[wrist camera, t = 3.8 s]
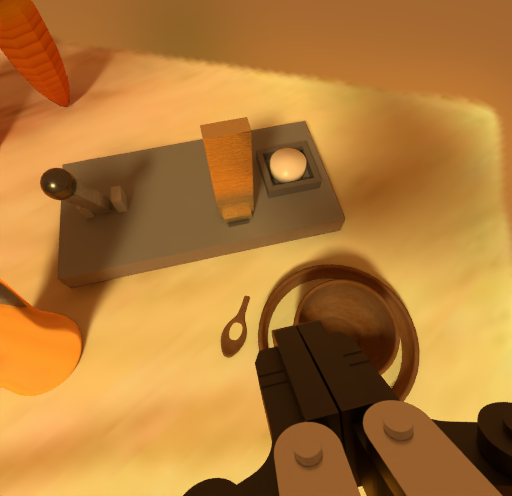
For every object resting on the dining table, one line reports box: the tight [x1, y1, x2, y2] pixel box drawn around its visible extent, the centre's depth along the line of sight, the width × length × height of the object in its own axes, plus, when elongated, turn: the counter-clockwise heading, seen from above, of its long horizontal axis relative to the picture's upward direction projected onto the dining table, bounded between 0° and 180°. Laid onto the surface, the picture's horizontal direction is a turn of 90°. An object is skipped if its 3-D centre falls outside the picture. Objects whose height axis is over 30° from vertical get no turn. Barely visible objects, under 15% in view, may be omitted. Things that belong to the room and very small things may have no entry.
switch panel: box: [58, 121, 345, 288], centre depth 30 cm, size 24×12×4 cm, turn 103°
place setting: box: [221, 265, 419, 402], centre depth 22 cm, size 18×20×6 cm
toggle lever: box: [40, 168, 113, 215], centre depth 24 cm, size 2×2×9 cm
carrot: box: [0, 0, 69, 107], centre depth 31 cm, size 5×5×15 cm
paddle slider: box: [200, 117, 254, 223], centre depth 24 cm, size 3×2×9 cm
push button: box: [270, 148, 306, 184], centre depth 30 cm, size 3×3×1 cm
